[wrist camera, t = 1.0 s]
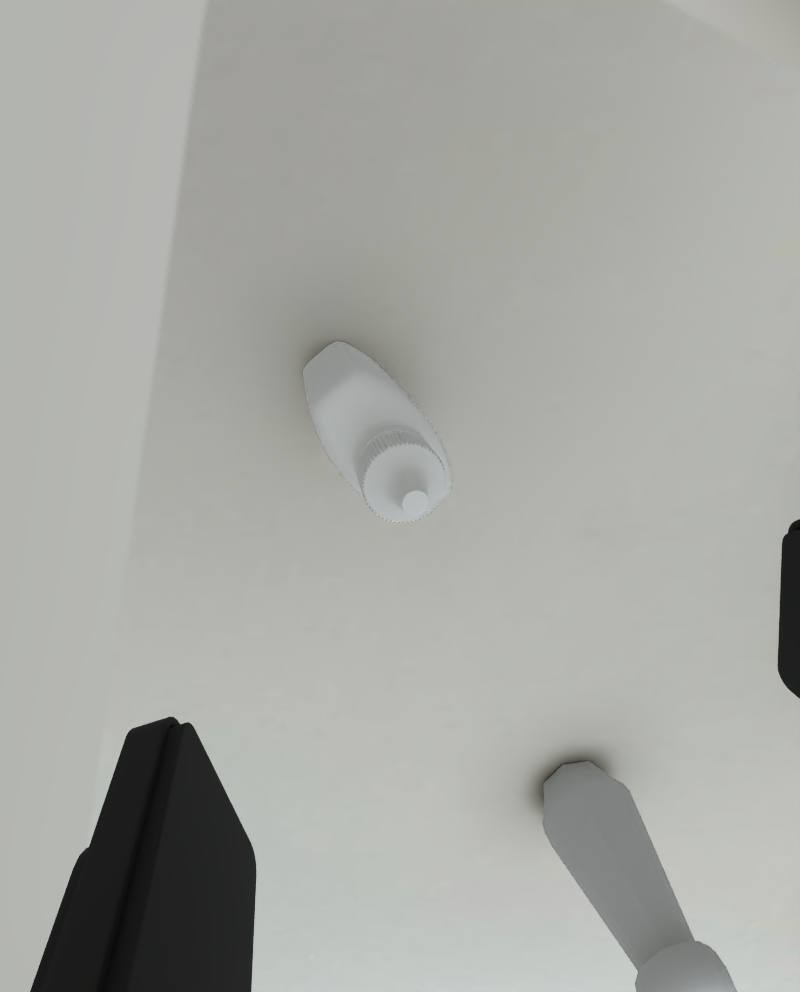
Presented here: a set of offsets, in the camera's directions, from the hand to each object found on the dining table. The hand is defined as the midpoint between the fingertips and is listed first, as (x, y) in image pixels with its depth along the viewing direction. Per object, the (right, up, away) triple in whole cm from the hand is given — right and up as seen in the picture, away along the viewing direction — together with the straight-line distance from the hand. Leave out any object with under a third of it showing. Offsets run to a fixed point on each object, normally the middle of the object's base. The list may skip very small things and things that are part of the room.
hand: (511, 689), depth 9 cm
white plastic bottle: (-4, +7, +17) cm, 19 cm away
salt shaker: (+9, -16, +29) cm, 34 cm away
